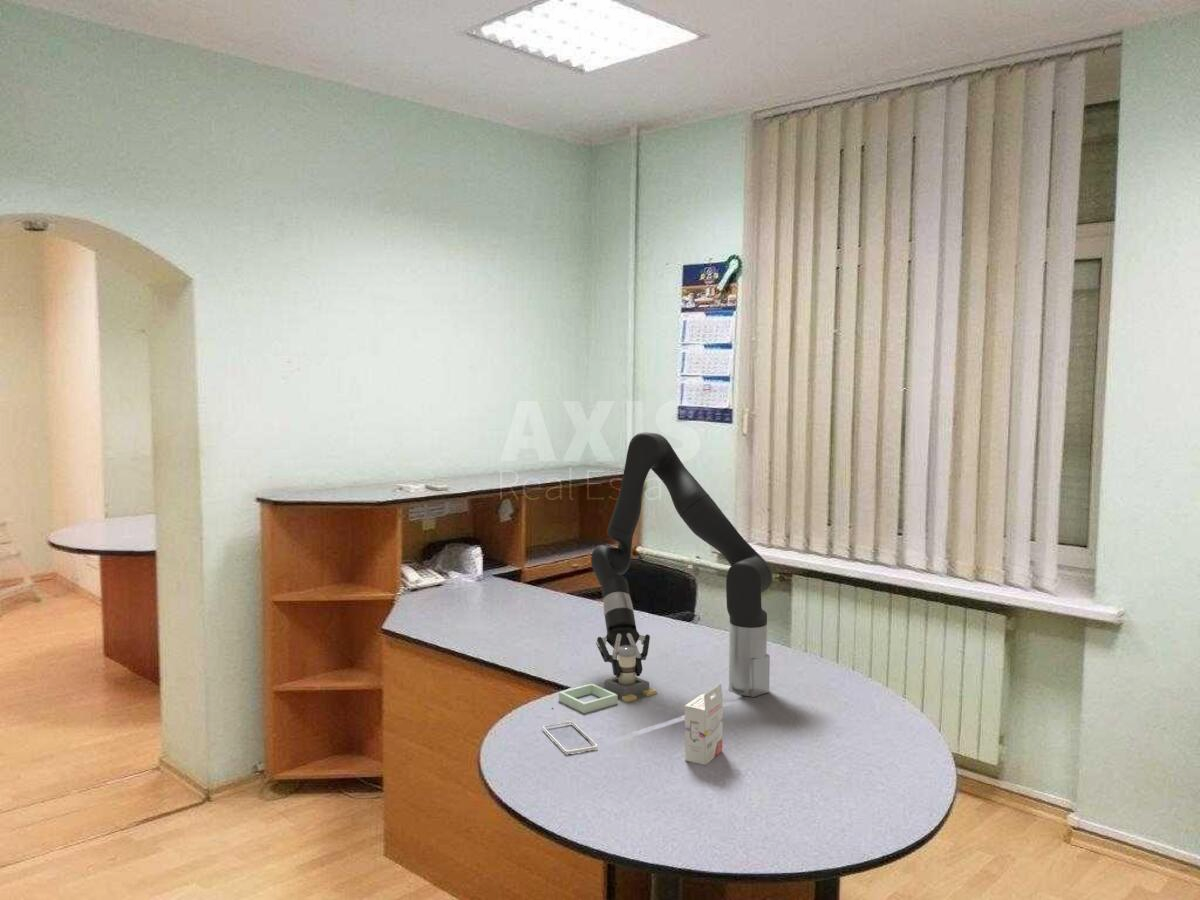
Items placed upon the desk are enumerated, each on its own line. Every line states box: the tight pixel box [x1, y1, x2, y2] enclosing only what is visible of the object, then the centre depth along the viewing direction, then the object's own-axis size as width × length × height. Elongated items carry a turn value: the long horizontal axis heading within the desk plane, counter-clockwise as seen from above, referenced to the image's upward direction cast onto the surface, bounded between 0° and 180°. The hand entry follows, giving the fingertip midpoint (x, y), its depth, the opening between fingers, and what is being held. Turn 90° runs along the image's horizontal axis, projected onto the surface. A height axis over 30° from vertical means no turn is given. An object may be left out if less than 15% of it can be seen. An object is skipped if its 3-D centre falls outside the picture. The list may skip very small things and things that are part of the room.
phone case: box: [542, 720, 598, 754], centre depth 194 cm, size 7×1×15 cm
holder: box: [600, 676, 659, 704], centre depth 221 cm, size 12×10×4 cm
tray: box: [558, 683, 619, 714], centre depth 213 cm, size 10×10×3 cm
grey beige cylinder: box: [617, 645, 637, 687], centre depth 220 cm, size 5×5×11 cm
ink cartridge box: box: [684, 683, 724, 766], centre depth 185 cm, size 9×5×15 cm, turn 148°
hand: (628, 675), depth 218 cm, fingers closed on grey beige cylinder, 4 cm apart
